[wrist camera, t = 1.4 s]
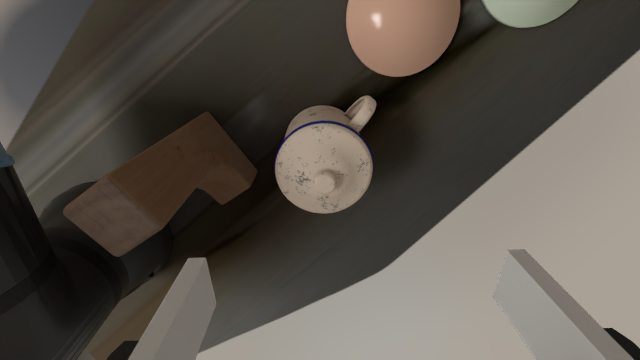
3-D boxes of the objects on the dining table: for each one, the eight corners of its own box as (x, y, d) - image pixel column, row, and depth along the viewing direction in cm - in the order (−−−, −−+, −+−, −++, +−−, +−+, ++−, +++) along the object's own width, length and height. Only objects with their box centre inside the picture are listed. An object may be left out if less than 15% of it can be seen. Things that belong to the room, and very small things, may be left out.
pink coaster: (345, 77, 32) (345, 78, 31) (346, -49, 28) (347, -51, 27) (447, 74, 32) (450, 75, 31) (465, -52, 28) (470, -55, 27)
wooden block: (259, 170, 37) (213, 274, 20) (231, 189, 38) (166, 302, 21) (208, 109, 33) (105, 174, 17) (179, 131, 34) (56, 213, 18)
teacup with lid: (327, 190, 38) (332, 247, 27) (268, 147, 35) (247, 193, 25) (394, 115, 34) (429, 149, 23) (332, 62, 32) (340, 73, 21)
